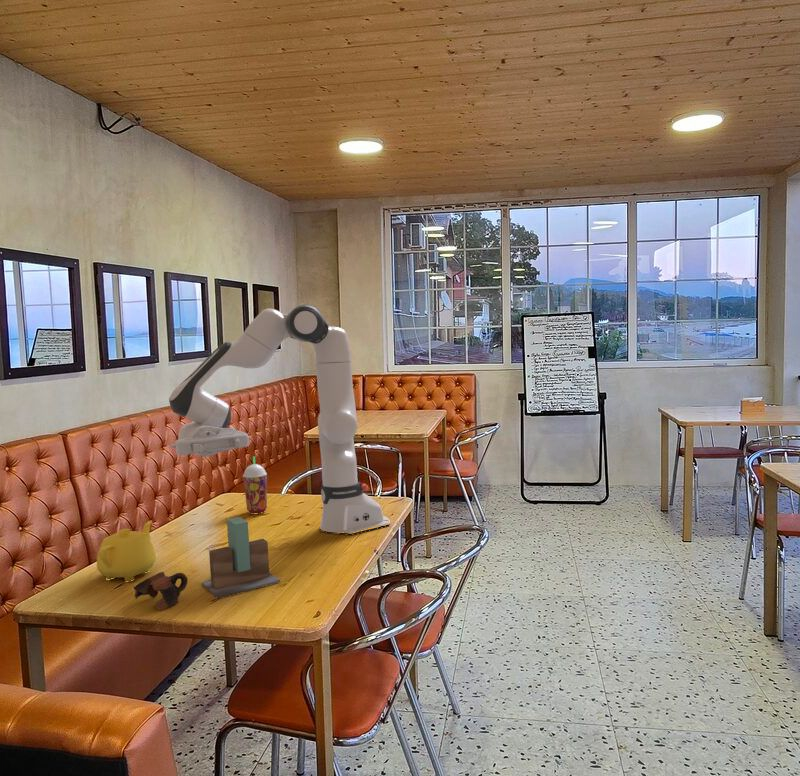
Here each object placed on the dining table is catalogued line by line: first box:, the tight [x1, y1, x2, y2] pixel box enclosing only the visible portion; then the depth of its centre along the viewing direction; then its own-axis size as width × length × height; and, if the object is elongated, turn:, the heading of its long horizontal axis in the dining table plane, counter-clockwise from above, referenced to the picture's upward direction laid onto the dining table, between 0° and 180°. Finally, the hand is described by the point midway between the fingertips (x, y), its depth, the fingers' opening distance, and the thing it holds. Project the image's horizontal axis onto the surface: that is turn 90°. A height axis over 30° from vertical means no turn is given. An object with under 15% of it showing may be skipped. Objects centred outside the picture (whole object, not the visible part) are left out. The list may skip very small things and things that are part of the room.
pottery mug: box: [133, 571, 189, 612], centre depth 154 cm, size 12×10×8 cm
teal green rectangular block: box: [226, 516, 251, 572], centre depth 162 cm, size 6×3×12 cm, turn 34°
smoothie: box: [242, 456, 268, 514], centre depth 230 cm, size 8×8×20 cm
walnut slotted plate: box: [201, 538, 281, 599], centre depth 163 cm, size 12×16×10 cm
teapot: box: [96, 520, 157, 582], centre depth 173 cm, size 13×20×12 cm
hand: (221, 446), depth 178 cm, fingers open, 8 cm apart
